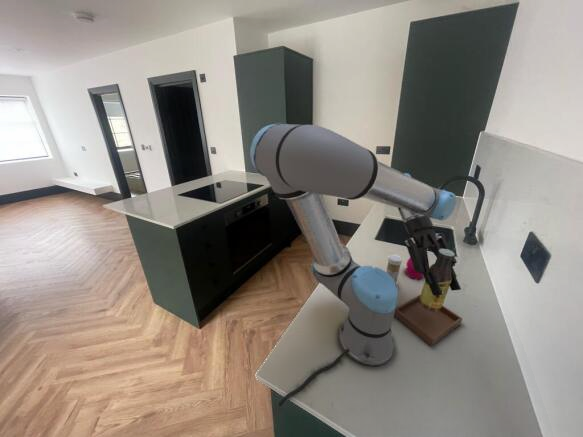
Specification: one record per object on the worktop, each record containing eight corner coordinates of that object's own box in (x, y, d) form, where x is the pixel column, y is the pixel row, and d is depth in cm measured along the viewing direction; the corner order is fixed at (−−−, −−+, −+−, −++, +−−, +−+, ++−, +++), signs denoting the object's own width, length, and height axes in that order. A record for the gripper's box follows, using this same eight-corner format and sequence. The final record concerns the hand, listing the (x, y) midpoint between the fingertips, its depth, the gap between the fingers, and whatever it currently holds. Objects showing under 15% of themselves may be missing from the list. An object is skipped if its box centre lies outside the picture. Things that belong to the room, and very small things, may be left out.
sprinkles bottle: (390, 281, 93) (395, 253, 88) (398, 288, 89) (405, 259, 84) (380, 283, 92) (386, 255, 86) (389, 291, 88) (395, 262, 82)
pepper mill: (426, 280, 93) (438, 237, 85) (407, 278, 94) (417, 235, 86) (420, 269, 100) (431, 228, 91) (402, 268, 101) (412, 227, 93)
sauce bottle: (432, 316, 69) (450, 261, 61) (414, 302, 74) (428, 250, 66) (446, 307, 72) (464, 254, 64) (427, 295, 77) (442, 244, 69)
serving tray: (431, 346, 67) (433, 339, 66) (393, 314, 78) (394, 308, 76) (460, 324, 74) (462, 318, 72) (421, 298, 84) (423, 292, 83)
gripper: (398, 218, 68) (430, 299, 61) (448, 210, 73) (484, 284, 65) (384, 227, 75) (411, 300, 67) (431, 219, 80) (461, 286, 72)
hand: (447, 292), depth 66 cm, fingers closed on sauce bottle, 6 cm apart
